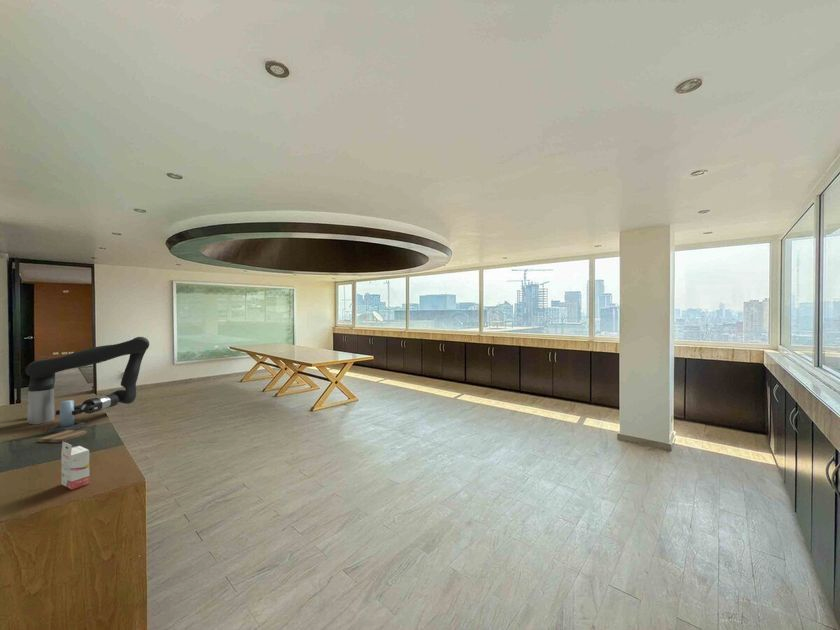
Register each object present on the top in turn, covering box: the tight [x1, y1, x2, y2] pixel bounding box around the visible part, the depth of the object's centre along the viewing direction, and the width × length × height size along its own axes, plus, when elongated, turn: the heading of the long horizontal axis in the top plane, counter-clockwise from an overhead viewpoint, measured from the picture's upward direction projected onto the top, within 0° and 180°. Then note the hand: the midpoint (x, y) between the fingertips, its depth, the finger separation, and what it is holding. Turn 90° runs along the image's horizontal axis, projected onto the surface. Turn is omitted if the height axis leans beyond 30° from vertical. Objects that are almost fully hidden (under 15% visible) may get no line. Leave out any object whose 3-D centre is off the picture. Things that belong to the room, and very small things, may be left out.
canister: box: [59, 399, 75, 428], centre depth 172 cm, size 5×5×14 cm
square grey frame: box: [48, 421, 86, 433], centre depth 172 cm, size 9×9×2 cm
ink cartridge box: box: [60, 441, 91, 491], centre depth 117 cm, size 9×5×15 cm, turn 62°
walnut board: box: [38, 429, 88, 443], centre depth 160 cm, size 11×11×2 cm
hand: (64, 413), depth 170 cm, fingers open, 8 cm apart
